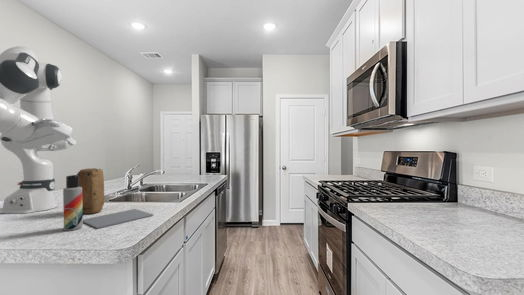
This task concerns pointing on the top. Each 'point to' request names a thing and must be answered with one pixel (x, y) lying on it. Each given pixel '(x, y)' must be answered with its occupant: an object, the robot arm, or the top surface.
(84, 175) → the block
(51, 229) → the top surface
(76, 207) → the lotion bottle
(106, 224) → the mat
